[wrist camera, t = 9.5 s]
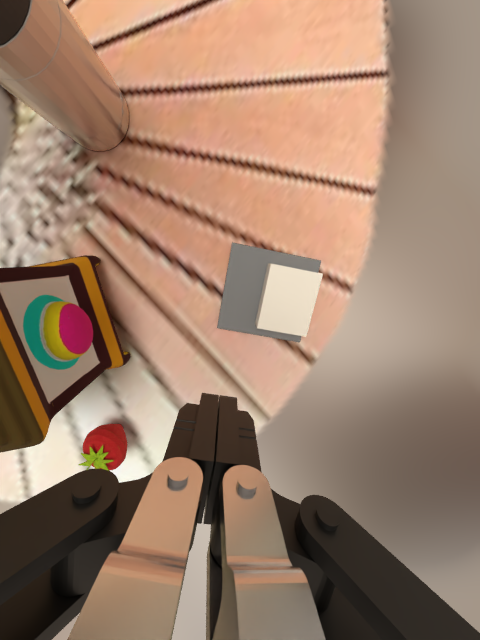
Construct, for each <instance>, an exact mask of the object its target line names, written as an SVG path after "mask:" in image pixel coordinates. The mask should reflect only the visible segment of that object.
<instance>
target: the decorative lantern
mask: <svg viewBox="0 0 480 640" xmlns="http://www.w3.org/2000/svg"><path fill="white" fill-rule="evenodd" d="M99 264H100V260H99V258H98V257H96V256H80V257H75V258H70V259H65V260H60V261H55V262H49V263H44V264H39V265H34V266H29V267H15V268H0V452H5V451H10V450H15V449H21V448H26V447H31V446H35V445H37V444H40V443H41V442H43V441H44V439H45V437H46V435H47V432H48V428H49V425H50V422H51V419H52V418H53V417H54V415H55V414H56V413H58V412H59V411H60V410H61V409H62V408H63V407H64V406H65V405H66V404H68V403H69V402H70V401H71V400H72V399H73V398H74V397H75V396H77V395H78V394H79V393H80V392H81V391H82V390H83V389H84V388H85V387H87V386H88V385H89V384H90V383H91V382H92V381H93V380H94V379H96V378H97V377H98V376H99V375H100V374H101V373H102V372H103V371H104V370H106V369H111V368H116V367H120V366H123V365H125V364H126V363H127V362H128V361H129V359H130V357H131V356H130V353H129V352H123V351H122V348H121V345H120V342H119V339H118V336H117V333H116V330H115V327H114V324H113V321H112V318H111V315H110V312H109V309H108V306H107V303H106V299H105V296H104V293H103V290H102V287H101V284H100V281H99V278H98V275H97V272H96V268H95V266H97V265H99Z"/></svg>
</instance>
